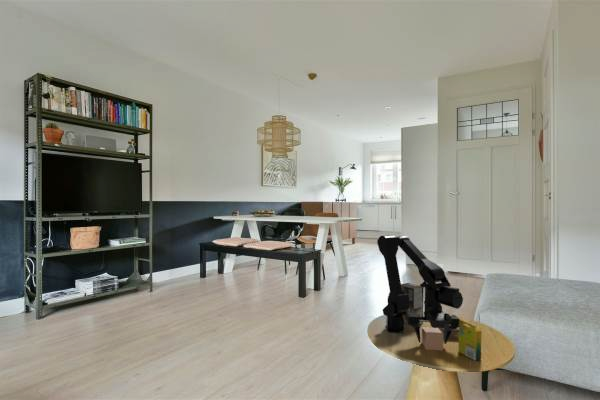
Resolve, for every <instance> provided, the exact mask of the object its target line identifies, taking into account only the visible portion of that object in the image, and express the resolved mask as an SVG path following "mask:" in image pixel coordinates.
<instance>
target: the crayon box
mask: <svg viewBox="0 0 600 400" xmlns="http://www.w3.org/2000/svg"><path fill="white" fill-rule="evenodd" d="M458 353H460V354H462V355H463V356H466V357H467V358H470V359H472V360H473V361H479V360H482V330H479V329H477V327H476V325H473V324H471V323H469V322H466V321H463V320H462V319H460V320H459V339H458Z"/></svg>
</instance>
